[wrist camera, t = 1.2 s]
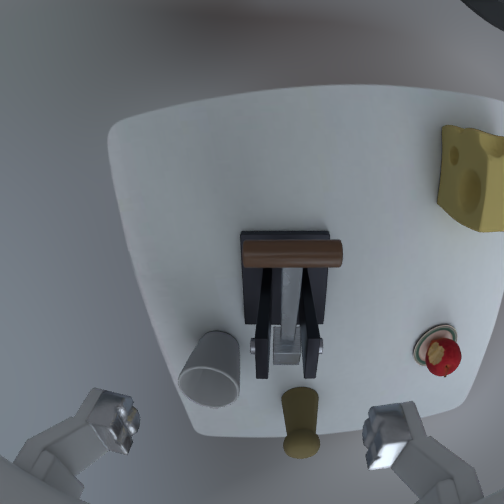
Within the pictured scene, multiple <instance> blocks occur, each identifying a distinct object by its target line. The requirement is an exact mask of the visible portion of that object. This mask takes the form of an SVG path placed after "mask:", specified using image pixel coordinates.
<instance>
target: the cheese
mask: <svg viewBox="0 0 504 504" xmlns="http://www.w3.org/2000/svg"><path fill="white" fill-rule="evenodd" d="M437 204H438V205H439V206H440V207H441V208H443V209H444V210H445V211H446V212H447V213H448V214H449V215H450V216H451V217H452V218H453V219H455V220H456V221H457V222H459V223H460V224H462V225H464V226H466V227H468V228H470V229H472V230H475V231H478V232H498V231H504V137H502V136H496V135H492V134H489V133H486V132H483V131H480V130H477V129H473V128H465V129H463V128H460V127H457V126H453V125H445V126H443V127H442V164H441V176H440V185H439V193H438V200H437Z"/></svg>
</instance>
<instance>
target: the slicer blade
mask: <svg viewBox="0 0 504 504" xmlns="http://www.w3.org/2000/svg"><path fill="white" fill-rule="evenodd" d="M242 258H243V266H244V267H245V268H282V279H281V327H274V338H273V364H274V365H299V361H300V356H301V327H296V325H297V317H298V309H299V300H300V291H301V282H302V272H303V268H332V267H341V264H342V260H343V247H342V243H341V240H244V242H243V249H242Z"/></svg>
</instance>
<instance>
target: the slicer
mask: <svg viewBox="0 0 504 504" xmlns="http://www.w3.org/2000/svg"><path fill="white" fill-rule="evenodd" d="M244 240H330V234H329V232H328V231H242V232H241V234H240V241H241V260H242V279H243V297H244V315H245V324H256V332H255V338H251V343H250V352H251V354H255V361H256V378H257V379H268V372H269V355H270V336H271V325H281V279H282V268H245V267H244V266H243V258H242V249H243V242H244ZM327 275H328V268H303V272H302V282H301V291H300V300H299V309H298V317H297V325H300V327H301V347H302V359H303V373H304V378H305V379H307V378H316V371H317V363H318V355H319V354H322V352H323V339H322V338H320V333H319V328H318V324H323V321H324V311H325V300H326V288H327Z"/></svg>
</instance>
